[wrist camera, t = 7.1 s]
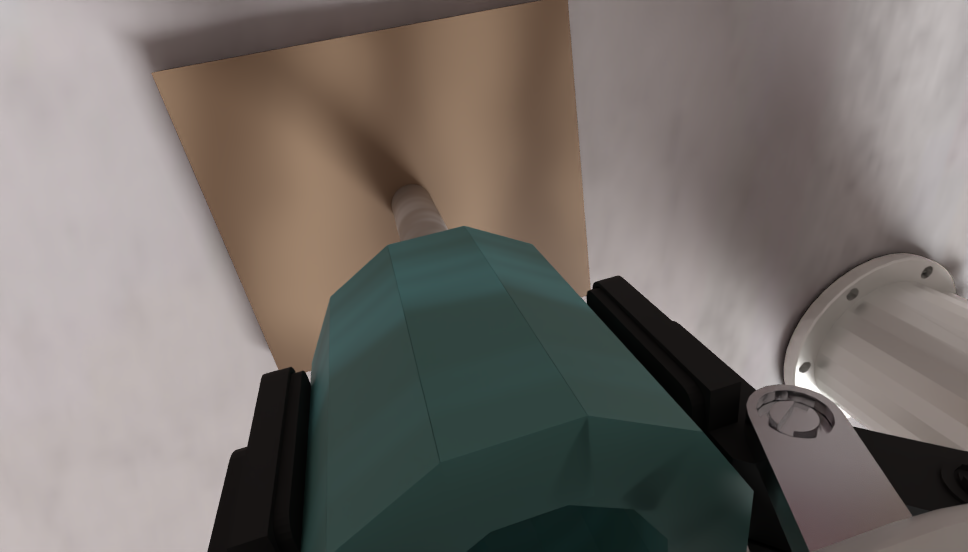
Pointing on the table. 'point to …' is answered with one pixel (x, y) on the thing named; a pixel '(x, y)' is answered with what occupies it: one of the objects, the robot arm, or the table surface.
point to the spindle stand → (383, 153)
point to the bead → (498, 418)
